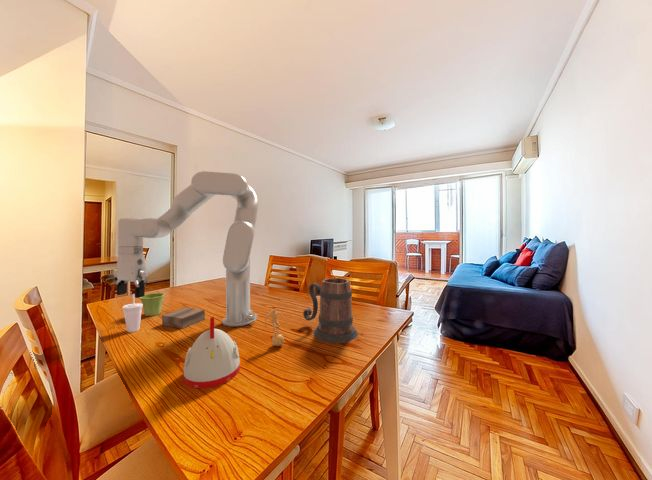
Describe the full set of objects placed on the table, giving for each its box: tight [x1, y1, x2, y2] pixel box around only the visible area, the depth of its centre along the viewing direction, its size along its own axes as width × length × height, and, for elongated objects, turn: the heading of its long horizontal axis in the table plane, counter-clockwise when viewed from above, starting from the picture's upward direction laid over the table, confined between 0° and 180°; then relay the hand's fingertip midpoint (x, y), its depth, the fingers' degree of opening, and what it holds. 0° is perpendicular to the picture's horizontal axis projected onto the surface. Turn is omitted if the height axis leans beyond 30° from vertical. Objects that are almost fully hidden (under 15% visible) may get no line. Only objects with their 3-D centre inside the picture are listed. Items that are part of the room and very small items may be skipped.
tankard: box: [302, 277, 359, 344], centre depth 97 cm, size 24×17×20 cm
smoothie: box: [121, 293, 143, 333], centre depth 97 cm, size 6×6×14 cm
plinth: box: [161, 307, 206, 329], centre depth 106 cm, size 11×11×4 cm
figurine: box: [264, 308, 287, 347], centre depth 85 cm, size 8×6×12 cm
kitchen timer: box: [183, 316, 241, 389], centre depth 68 cm, size 14×14×15 cm
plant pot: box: [139, 292, 166, 317], centre depth 115 cm, size 9×9×9 cm
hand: (130, 295), depth 96 cm, fingers open, 9 cm apart
